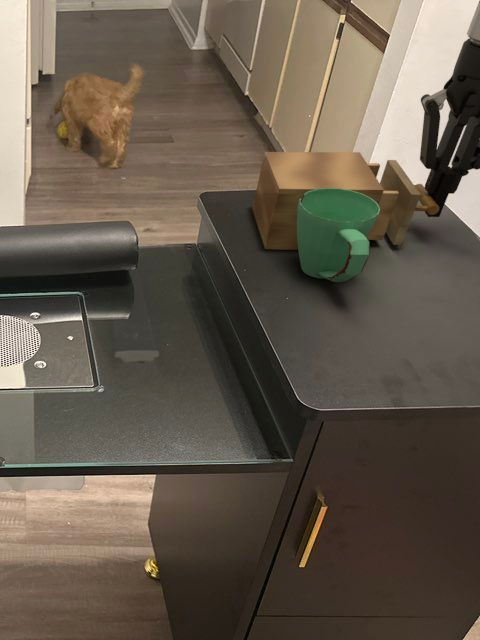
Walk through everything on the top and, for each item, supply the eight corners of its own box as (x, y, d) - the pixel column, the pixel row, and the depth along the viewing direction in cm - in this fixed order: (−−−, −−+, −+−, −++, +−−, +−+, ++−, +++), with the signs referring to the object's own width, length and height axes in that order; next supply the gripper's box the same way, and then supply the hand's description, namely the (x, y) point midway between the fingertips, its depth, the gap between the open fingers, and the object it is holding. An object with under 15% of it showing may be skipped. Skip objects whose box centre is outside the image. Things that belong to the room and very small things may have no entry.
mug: (274, 252, 106) (289, 189, 99) (343, 250, 105) (363, 186, 99) (305, 310, 95) (325, 242, 88) (383, 308, 94) (409, 239, 88)
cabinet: (342, 210, 114) (359, 152, 108) (363, 251, 105) (384, 189, 99) (252, 209, 116) (264, 151, 110) (264, 249, 107) (279, 188, 101)
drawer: (408, 208, 112) (426, 160, 107) (433, 245, 103) (453, 194, 98) (295, 206, 114) (307, 159, 109) (310, 242, 106) (324, 193, 101)
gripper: (453, 50, 89) (390, 223, 104) (570, 49, 87) (488, 226, 102) (433, 33, 95) (376, 199, 110) (543, 32, 93) (469, 201, 108)
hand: (430, 212), depth 106 cm, fingers closed
